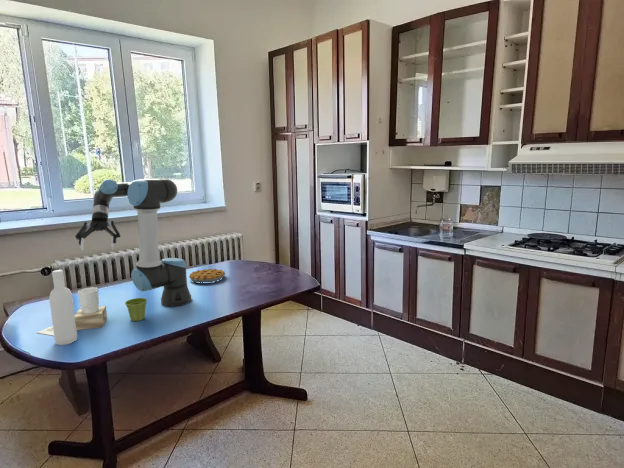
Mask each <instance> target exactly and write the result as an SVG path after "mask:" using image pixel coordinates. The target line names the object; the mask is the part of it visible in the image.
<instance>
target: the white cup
mask: <svg viewBox="0 0 624 468" xmlns="http://www.w3.org/2000/svg"><path fill="white" fill-rule="evenodd" d="M77 294H78V300H79V303H80V308H81V310H82V313H84V314H90V313H94V312H97V311H98V310H99V306H100V298H99V288H98V287H94V286H93V287H84V288H82V289H79V290H78V291H77Z"/></svg>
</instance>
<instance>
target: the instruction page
mask: <svg viewBox="0 0 624 468" xmlns="http://www.w3.org/2000/svg"><path fill="white" fill-rule="evenodd" d="M36 334H39V335H40V334H41V335H45V336H51V335H52V336H51V337H53V336H54V330H53V325H50V326H49V327H46V328H44V329H41V330H39V331H36Z"/></svg>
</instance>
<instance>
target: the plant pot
mask: <svg viewBox="0 0 624 468" xmlns="http://www.w3.org/2000/svg"><path fill="white" fill-rule="evenodd" d="M147 301H148V299H147V298H146V297H145V298H143V297H136V298H131V299H128V300H126V301H125V303H124V305H125V306H126V308H127V311H128V314H129V318H130V321H132V322H137V321H144V319H145V317H146V305H147Z"/></svg>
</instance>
